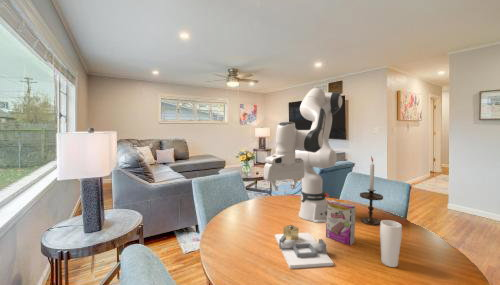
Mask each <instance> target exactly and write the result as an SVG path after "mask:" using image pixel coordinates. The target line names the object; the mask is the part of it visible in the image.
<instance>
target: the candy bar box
mask: <svg viewBox="0 0 500 285" xmlns="http://www.w3.org/2000/svg"><path fill="white" fill-rule="evenodd" d="M356 207H357V206H356V205H353V204H349V203H347V202H346V203H345V202H341V201H338V200H333V199H330V200H328V202H327V217H326V218H327V219H326V222H325V223H326V225H325V238H328V239H330V240H333V241H336V242H339V243H341V244H343V245H347V246H349V247H350V246H352V245H353V244H354V243H355V237H356V235H355V234H356V232H355V231H356Z"/></svg>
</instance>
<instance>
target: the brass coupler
mask: <svg viewBox="0 0 500 285" xmlns="http://www.w3.org/2000/svg"><path fill="white" fill-rule="evenodd" d="M299 229H300V228H299V227H297V226H295V225H292V224H289V225H286V226H284V227H283V234H284V236H286V240H295V241H296V240H298V233H299Z"/></svg>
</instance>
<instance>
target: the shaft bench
mask: <svg viewBox="0 0 500 285" xmlns="http://www.w3.org/2000/svg"><path fill="white" fill-rule="evenodd" d="M274 239H275V240H276V242H277V245H278V247H279V249H280V251H281V252H282V255H283V258H284V259H285V261H286V263H287V266H288V268H289V269H304V268H306V269H308V268H319V267H333V266H334V262H333V260H332V259H331V258H330V257H329V255H328V254H327V243H326V242H324V240H323V239H321V238H320V239H318V242H317V240H315V238H314V237H313V235H311V233H310V232H298V240H296V241H295V240H286V236H284V233H275V234H274Z"/></svg>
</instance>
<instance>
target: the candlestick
mask: <svg viewBox="0 0 500 285" xmlns="http://www.w3.org/2000/svg"><path fill="white" fill-rule="evenodd" d="M370 156H371V157H370V159H371V163H370V166H369V188H368V189H367V191H368V192H367V191H365V192H360V193H359V197H360V198H363V199H366V200H368V201H369V206H368V207H367V209H368V216H363V217H361V218H360V221H361V223H363V224H365V225H367V226H368V225H369V226H373V227H374V226H380V222H381V221H380V220H379V219H377V218H375V217H373V214H374V212H373V211H374V209H375V207H373V201H381V200H383V199H384V196H383V195H382V194H380V193H377V190H376V189H374V188H375V187H374V186H375V184H374V183H375V164H374V158H373V157H372V155H370Z"/></svg>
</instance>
